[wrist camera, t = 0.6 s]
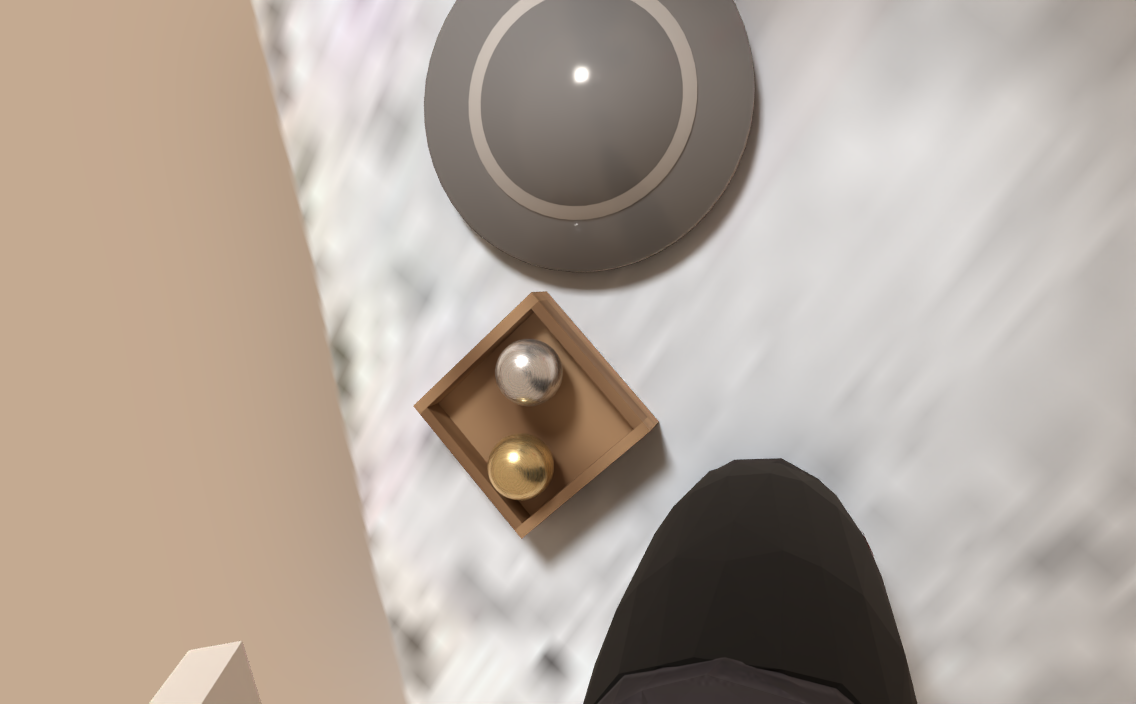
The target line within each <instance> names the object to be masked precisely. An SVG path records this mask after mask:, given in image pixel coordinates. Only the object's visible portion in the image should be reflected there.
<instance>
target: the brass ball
mask: <svg viewBox="0 0 1136 704" xmlns="http://www.w3.org/2000/svg"><path fill="white" fill-rule="evenodd" d="M487 470H488V475H489V479H490V481H491V483H492V485H493V486H494V488H495V489H496V490H497V491H498V492H499V493H500V494H502V495H503V496H505V497H507V498H509V499H512V500H520V501H521V500H528V499H532V498H534V497H536V496H538V495H539V494H541V493H542V492H543V491H544V490H545V489H546V488H547V487H548V485H549V483H550V482H551V479H552V477H553V473H554V461H553V457H552V454H551V451H550V450H549V448H548V447H547V445H546V444H545V443H544V442H543V441H542V440H540V439H539V438H537V437H535V436H533V435H530V434H525V433H517V434H512V435H509V436H507V437H505V438H503V439H502V440H500V441H499V442H498V443H497V444H496V445H495V446H494V448H493V449H492V451H491V453H490V456H489V459H488V465H487Z"/></svg>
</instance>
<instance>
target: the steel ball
mask: <svg viewBox="0 0 1136 704" xmlns="http://www.w3.org/2000/svg"><path fill="white" fill-rule="evenodd" d="M495 377H496V382H497V385H498V387H499V389H500V391H501V392H502V394H503V395H504V396H505V397H506V398H507V399H509V400H510V401H512V402H513V403H516V404H518V405H522V406H536V405H540V404H542V403H545V402H546V401H548V400H549V399H550V398H552V397H553V396H554V395H555V393H556V392H557V391H558V389H559V387H560V385H561V382H562V377H563V368H562V363H561V360H560V358H559V356H558V354H557V353H556V352H555V350H554V349H553V348H552V347H551V346H549V345H548V344H546V343H545V342H542V341H540V340H536V339H522V340H518V341H516V342H513V343H512V344H510V345H509V346H507V347H506V348H505V349H504V350H503V351H502V353H501V354H500V356H499V358H498V360H497V363H496V368H495Z"/></svg>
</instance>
